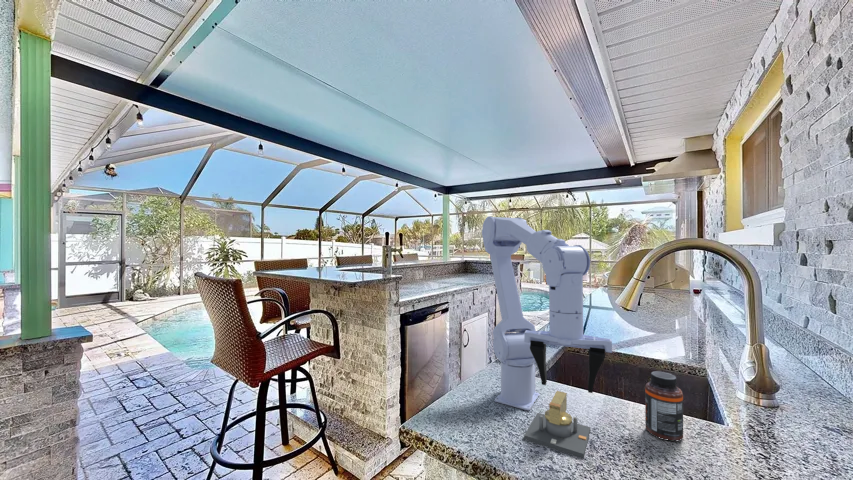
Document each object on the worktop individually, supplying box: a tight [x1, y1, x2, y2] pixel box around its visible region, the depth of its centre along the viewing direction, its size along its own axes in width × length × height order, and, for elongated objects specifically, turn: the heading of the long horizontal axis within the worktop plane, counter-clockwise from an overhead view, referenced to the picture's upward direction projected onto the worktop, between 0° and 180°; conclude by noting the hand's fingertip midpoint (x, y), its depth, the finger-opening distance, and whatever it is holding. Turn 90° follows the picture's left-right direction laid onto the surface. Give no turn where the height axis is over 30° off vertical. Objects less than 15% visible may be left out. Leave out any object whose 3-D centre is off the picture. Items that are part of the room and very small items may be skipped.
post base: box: [523, 412, 591, 460], centre depth 62 cm, size 10×10×3 cm
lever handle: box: [544, 390, 573, 426], centre depth 63 cm, size 7×5×4 cm
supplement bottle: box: [644, 370, 684, 441], centre depth 64 cm, size 6×6×11 cm
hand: (566, 386), depth 60 cm, fingers open, 7 cm apart
